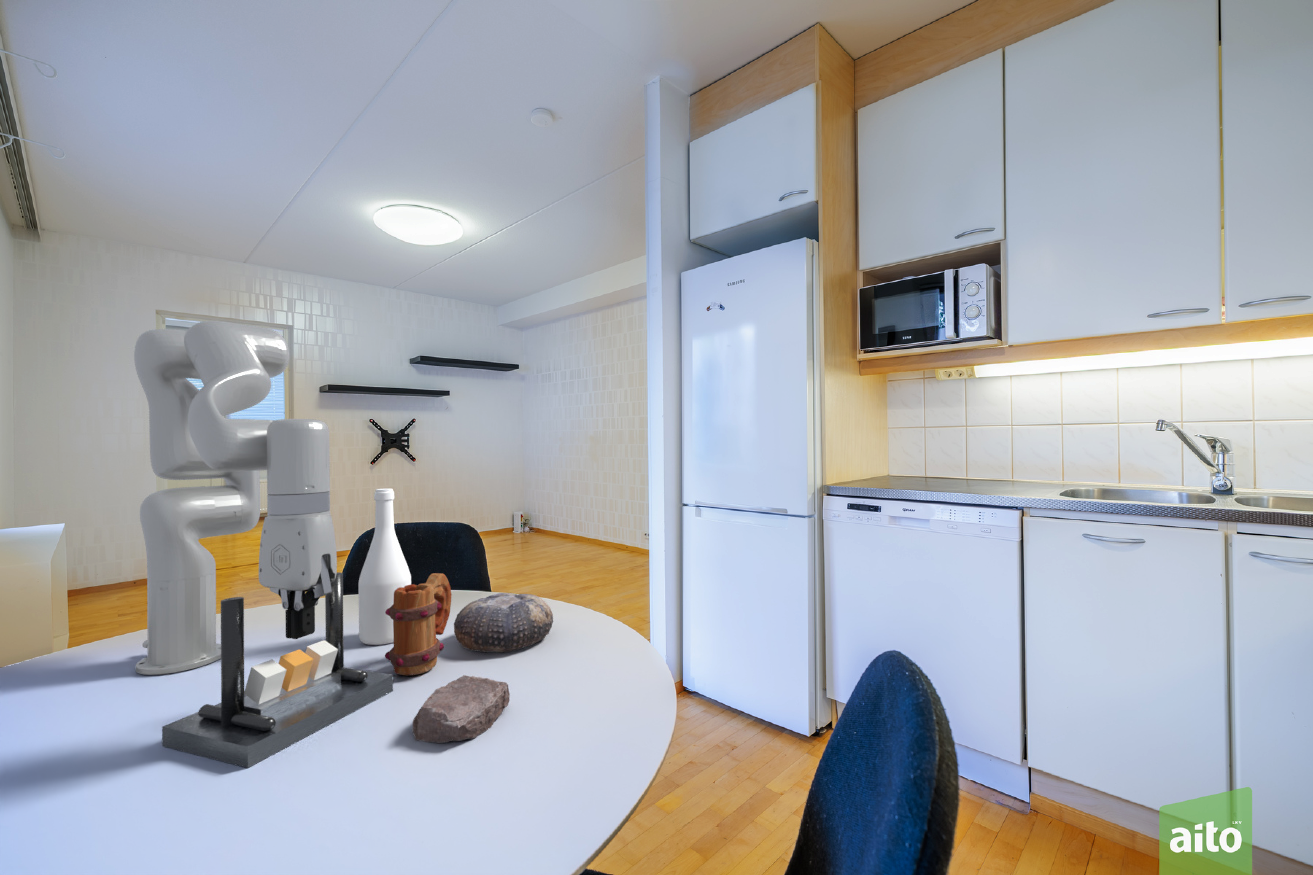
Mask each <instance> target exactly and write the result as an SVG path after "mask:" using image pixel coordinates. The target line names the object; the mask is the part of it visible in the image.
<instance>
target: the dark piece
mask: <svg viewBox="0 0 1313 875" xmlns="http://www.w3.org/2000/svg"><path fill="white" fill-rule="evenodd" d="M330 584H331V589H332V593H331V594H329V595H325V596H324V601H325V604H324V606H325V608H324V609H325V610H324V611H325V615H324V616H325V618H324V619H325V641H326V642H328V643H329V644H331V645H332V646H334V647H335V648H337V649H338V651H337V655H336V658H335V661H334V665H333V668H332V671H331V673H330V674H328V675H325V676H323V677H321V678H319V679H316V680H312V679H311V678H310V677H308V679H307V683H306V684H305V685H302V686H300V687H298V688H296V689H293V690H291V691H289V692H287V691H285V690H284V689H283V688H281V691H280V694H279V696H277V697H275V698H273V699H270V700H268V701H266V702H263V703H261V704H259V705H258V704H257V703H256V702H254V701H253V700H252V699H250V698H249V697H248V696H247V695H245V694H244V691H245V597H243V596H234V597H229V598H224V599H222V600H220V644H221V658H220V684H221V685H220V695H221V696H220V701H221V702H218V703H216V704H214V705H213V704H209V703H208V704H204V705H202V706H201V707H200V709H198V711H197V712H195V713H192V714H189V715H187V716H185V717H182V718H180V719H177V720H175V721H173V722H171V723H168V724H167V723H166V724H165V725H163V726H162V727H161V737H162V739H161V745H162V747H164V748H168V749H173V750H175V751H180V752H184V753H187V754H191V755H195V756H199V757H202V758H208V759H211V760H216V761H219V762H223V763H225V764H230V765H235V766H239V767H242V768H247V769H248V768H252V767H253V766H255V765H256V764H258V763H260V762H263V761H264V760H266V759H268V758H270V757H272V756H273V755H276V754H277V753H279V752H281V751H283V750H284V749H286V748H288V747H290V746H292V745H294V744H297V743H298V742H300V741H301V740H304V739H305V738H307V737H309V736H312V734H315V733H316V732H318V731H320V730H322V729H324V728H326V727H328V726H329V725H331V724H333V723H335V722H337V721H339V720H341V719H343V718H345V717H347V716H349V715H350V714H352V713H354V712H356V711H358V710H360V709H361V708H364V707H365V706H367V705H369V704H371V703H373V702H375V701H377V700H378V699H381V698H382V697H384V696H386V695H387V694H386V693H388V694H390V693H392V692H393V691H394V685H393V684H394V682H393V681H394V677H393V676H394V675H393V674H390V673H384V672H376V671H370V670H363V669H358V668H350V667H345V665H344V664H345V661H344V659H345V658H344V652H345V651H344V644H345V642H344V573H343V572H336V578H335V580H334V581H333V582H332V583H330ZM391 691H392V692H391ZM389 692H390V693H389ZM381 696H382V697H381ZM376 699H377V700H376Z"/></svg>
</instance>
